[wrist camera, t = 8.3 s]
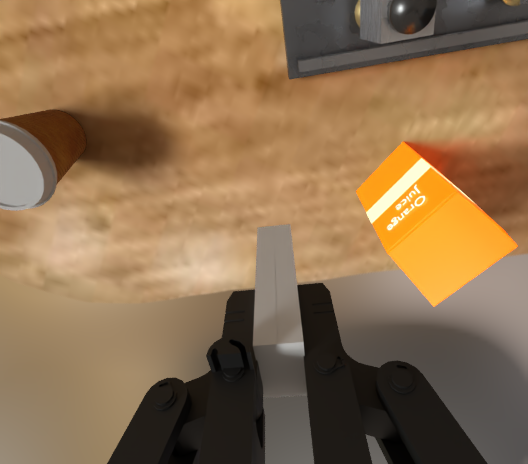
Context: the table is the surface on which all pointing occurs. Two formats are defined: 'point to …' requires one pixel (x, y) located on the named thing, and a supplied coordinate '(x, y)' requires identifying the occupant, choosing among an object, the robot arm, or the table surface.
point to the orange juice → (430, 225)
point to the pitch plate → (370, 53)
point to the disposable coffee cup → (36, 156)
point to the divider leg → (396, 19)
